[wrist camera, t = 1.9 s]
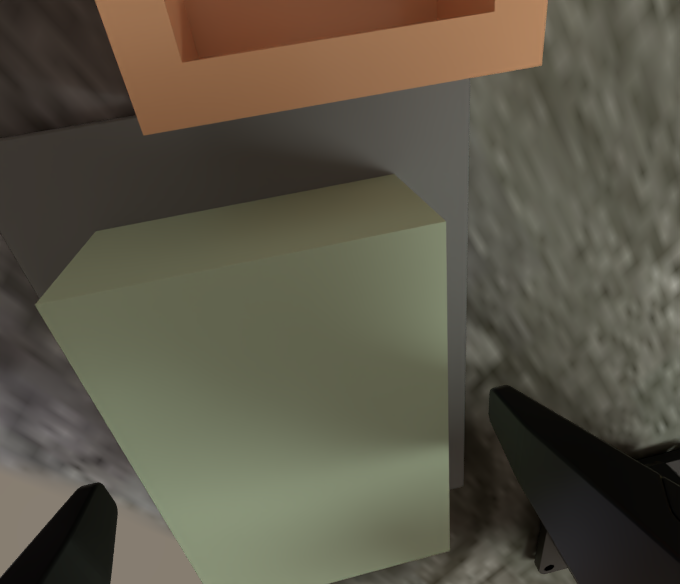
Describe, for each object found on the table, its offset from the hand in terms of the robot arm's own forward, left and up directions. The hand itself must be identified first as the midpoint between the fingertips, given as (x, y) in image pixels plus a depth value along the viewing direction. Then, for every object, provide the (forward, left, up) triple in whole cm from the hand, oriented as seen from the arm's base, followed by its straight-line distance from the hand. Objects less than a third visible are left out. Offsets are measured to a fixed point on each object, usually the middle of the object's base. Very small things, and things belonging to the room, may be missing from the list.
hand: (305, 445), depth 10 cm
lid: (0, 0, -2) cm, 2 cm away
